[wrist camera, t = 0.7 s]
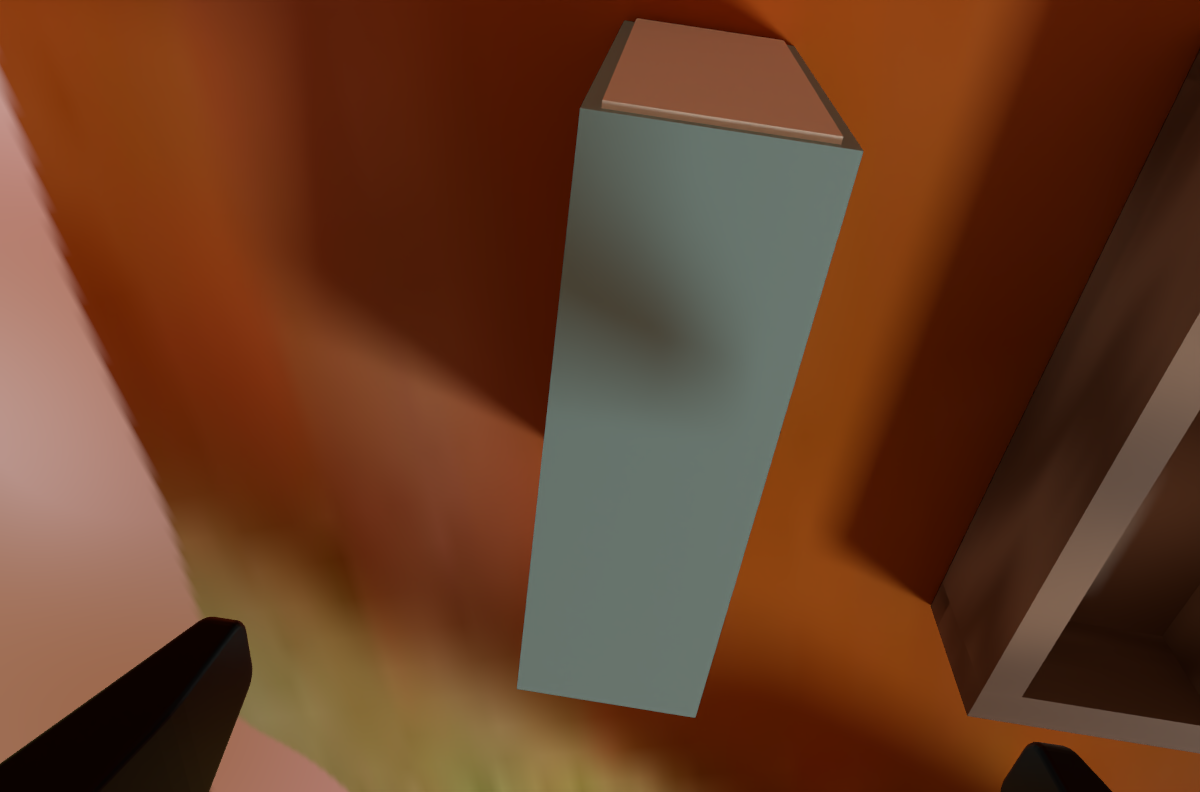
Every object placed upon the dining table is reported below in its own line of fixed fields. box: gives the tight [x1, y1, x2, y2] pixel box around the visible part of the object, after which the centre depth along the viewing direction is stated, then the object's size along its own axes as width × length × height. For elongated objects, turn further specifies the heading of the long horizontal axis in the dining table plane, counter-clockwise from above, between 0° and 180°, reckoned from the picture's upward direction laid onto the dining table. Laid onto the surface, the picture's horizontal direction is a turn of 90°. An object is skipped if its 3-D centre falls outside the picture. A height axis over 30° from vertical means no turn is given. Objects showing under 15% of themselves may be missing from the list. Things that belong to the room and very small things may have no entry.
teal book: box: [517, 18, 863, 718], centre depth 16 cm, size 11×4×8 cm, turn 173°
